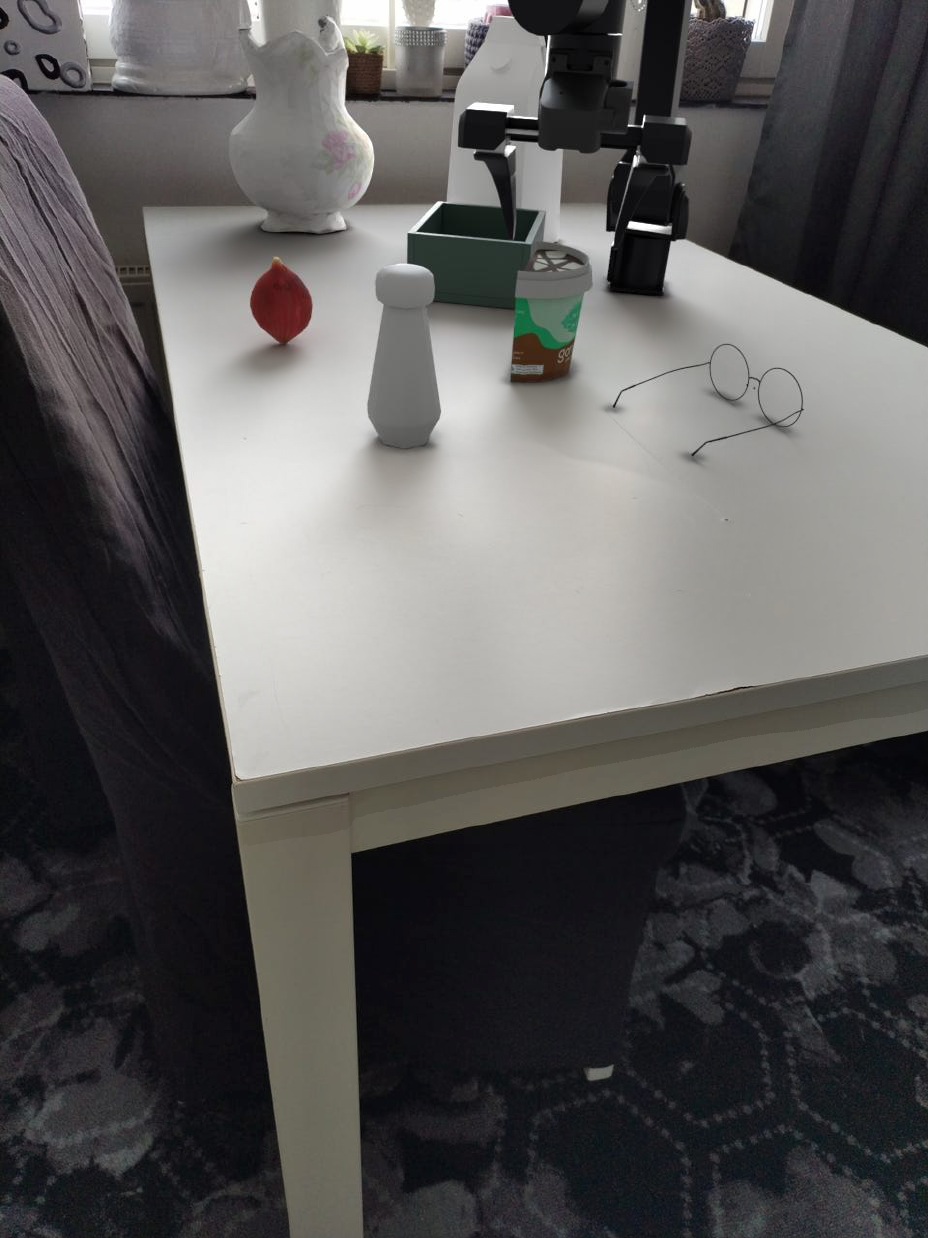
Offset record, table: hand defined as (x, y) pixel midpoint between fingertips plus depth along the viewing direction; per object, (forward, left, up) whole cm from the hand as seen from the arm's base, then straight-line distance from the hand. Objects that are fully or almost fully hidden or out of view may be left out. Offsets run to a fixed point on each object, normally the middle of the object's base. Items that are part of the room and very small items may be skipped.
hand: (562, 243), depth 78 cm
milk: (+11, -48, -11) cm, 50 cm away
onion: (+26, +1, -11) cm, 28 cm away
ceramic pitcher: (+39, -48, -11) cm, 63 cm away
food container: (0, 0, -11) cm, 11 cm away
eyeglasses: (-14, +9, -11) cm, 20 cm away
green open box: (+11, -26, -11) cm, 30 cm away
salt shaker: (+10, +19, -11) cm, 24 cm away
